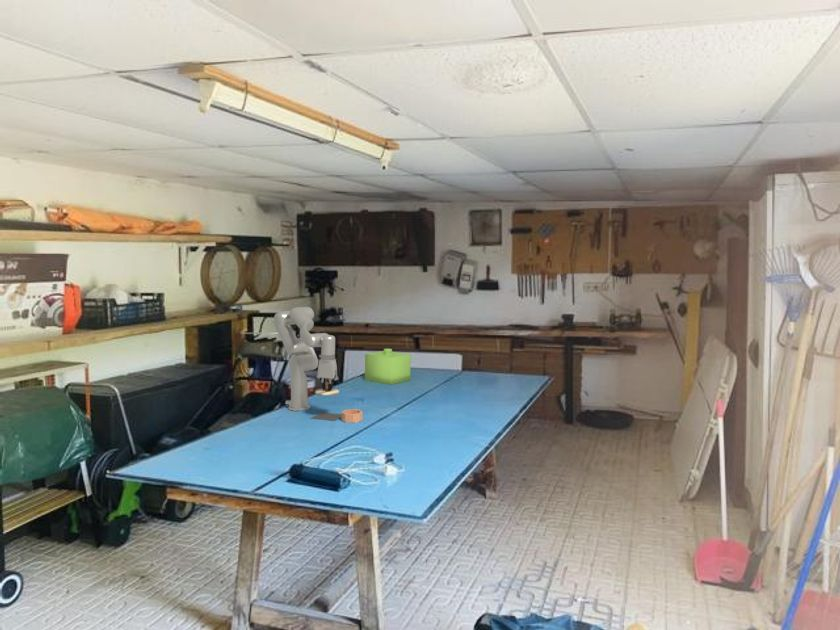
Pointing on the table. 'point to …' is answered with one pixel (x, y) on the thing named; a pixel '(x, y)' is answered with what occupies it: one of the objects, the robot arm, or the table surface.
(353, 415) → the bowl
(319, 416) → the mat
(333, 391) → the lid
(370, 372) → the canister
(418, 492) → the table surface
